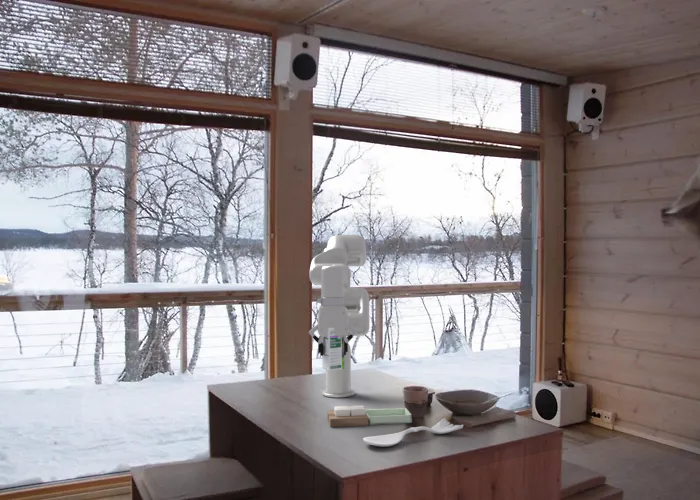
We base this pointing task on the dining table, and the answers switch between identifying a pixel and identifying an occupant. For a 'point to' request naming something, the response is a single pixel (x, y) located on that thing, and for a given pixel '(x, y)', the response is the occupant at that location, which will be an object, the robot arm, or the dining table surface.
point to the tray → (388, 416)
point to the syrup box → (333, 351)
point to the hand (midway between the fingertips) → (333, 354)
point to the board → (346, 420)
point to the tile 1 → (342, 411)
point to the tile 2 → (357, 410)
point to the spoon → (397, 437)
